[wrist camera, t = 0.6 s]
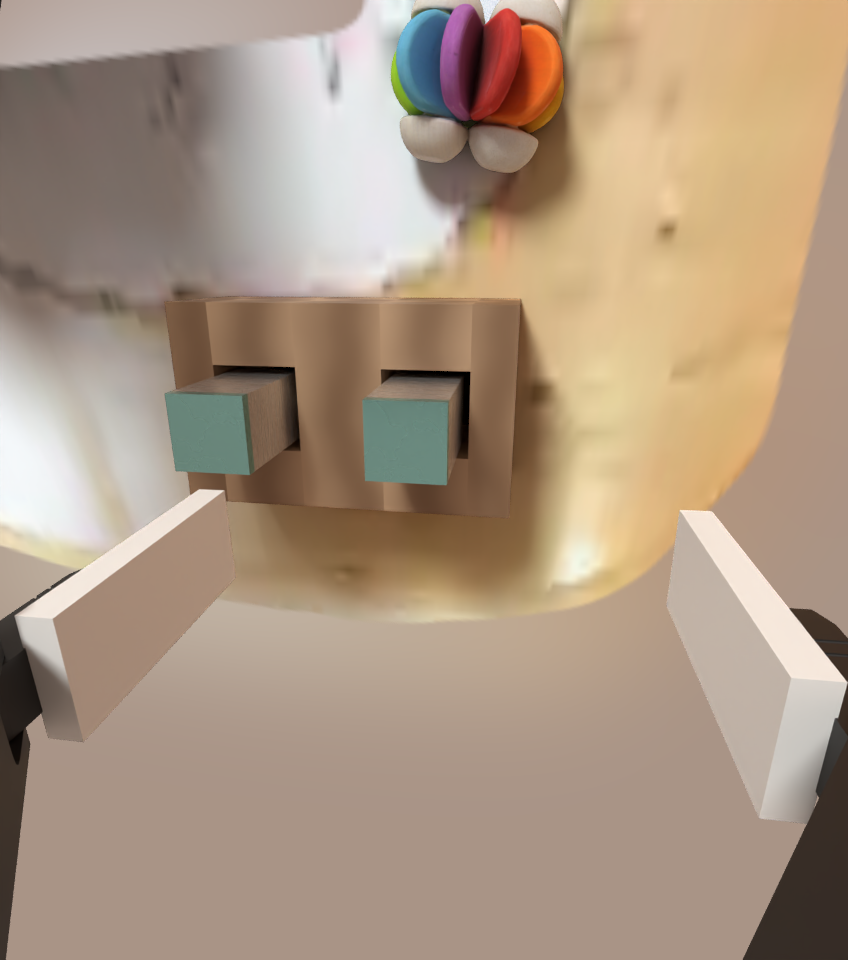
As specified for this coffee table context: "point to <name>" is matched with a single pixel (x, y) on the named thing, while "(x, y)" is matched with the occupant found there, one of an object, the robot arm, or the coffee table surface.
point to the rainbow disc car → (478, 79)
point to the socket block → (359, 391)
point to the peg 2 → (413, 428)
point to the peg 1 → (233, 421)
